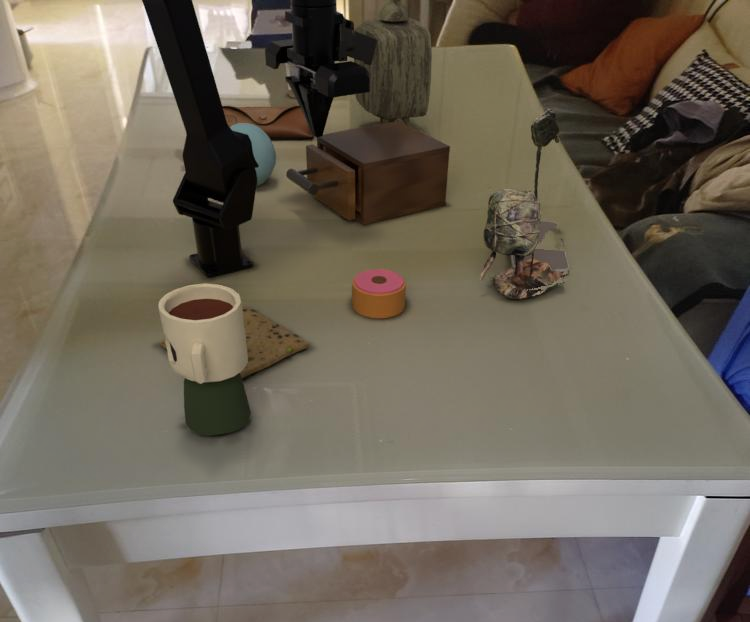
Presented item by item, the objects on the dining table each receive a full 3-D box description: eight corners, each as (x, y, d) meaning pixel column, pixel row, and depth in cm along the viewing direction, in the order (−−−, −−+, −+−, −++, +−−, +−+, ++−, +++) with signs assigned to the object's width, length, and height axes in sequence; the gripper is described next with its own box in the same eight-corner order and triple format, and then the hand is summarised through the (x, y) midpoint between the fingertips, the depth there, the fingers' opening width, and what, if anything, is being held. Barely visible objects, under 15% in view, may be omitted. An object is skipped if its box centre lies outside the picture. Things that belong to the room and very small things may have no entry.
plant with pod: (469, 274, 98) (476, 109, 84) (553, 266, 98) (575, 100, 84) (482, 306, 92) (493, 134, 78) (572, 296, 93) (599, 124, 79)
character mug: (190, 391, 77) (168, 273, 69) (259, 390, 78) (246, 272, 69) (174, 458, 69) (147, 334, 61) (251, 457, 70) (235, 333, 61)
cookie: (158, 345, 84) (156, 337, 83) (245, 308, 90) (244, 301, 89) (222, 389, 77) (221, 382, 77) (310, 347, 84) (310, 339, 83)
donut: (414, 310, 91) (416, 284, 88) (369, 323, 88) (370, 297, 86) (386, 288, 94) (387, 262, 92) (342, 300, 92) (342, 274, 90)
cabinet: (363, 225, 109) (363, 163, 103) (318, 194, 117) (316, 135, 111) (445, 205, 114) (450, 146, 108) (396, 177, 123) (398, 120, 117)
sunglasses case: (214, 139, 133) (210, 98, 132) (217, 149, 140) (214, 110, 139) (315, 137, 135) (312, 97, 134) (314, 147, 142) (311, 109, 140)
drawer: (319, 227, 106) (317, 178, 101) (279, 198, 113) (276, 150, 109) (425, 202, 113) (428, 155, 108) (381, 176, 120) (382, 131, 116)
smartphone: (513, 267, 97) (505, 219, 108) (512, 274, 98) (505, 225, 109) (570, 270, 97) (557, 221, 108) (569, 276, 98) (556, 227, 108)
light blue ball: (197, 119, 117) (273, 115, 116) (209, 177, 123) (281, 174, 122) (187, 134, 112) (266, 130, 111) (200, 194, 118) (275, 191, 117)
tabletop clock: (427, 143, 135) (437, -24, 118) (380, 149, 133) (383, -21, 116) (396, 120, 145) (401, -38, 128) (352, 124, 142) (351, -36, 125)
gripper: (408, 11, 91) (403, 146, 101) (332, -14, 102) (335, 110, 113) (328, 19, 86) (331, 160, 97) (258, -8, 98) (268, 121, 109)
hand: (318, 136), depth 104 cm, fingers closed
